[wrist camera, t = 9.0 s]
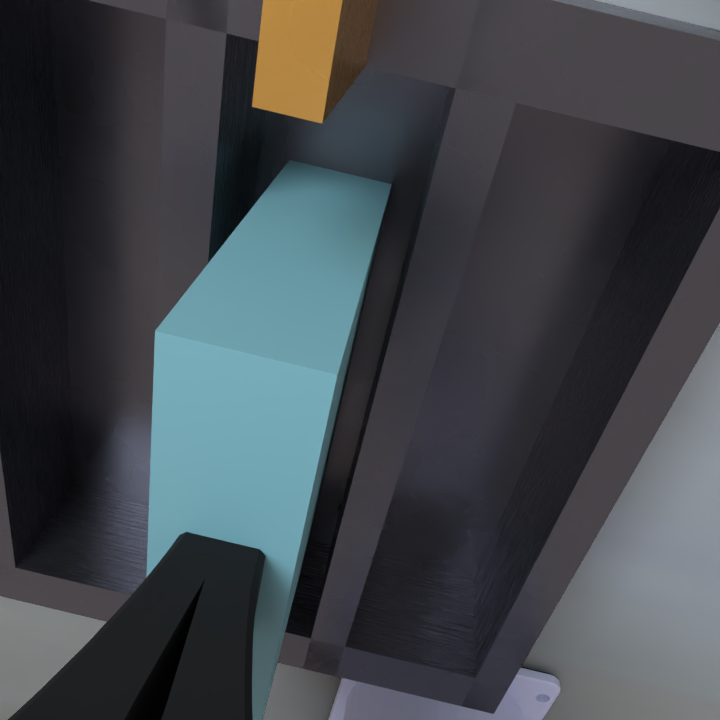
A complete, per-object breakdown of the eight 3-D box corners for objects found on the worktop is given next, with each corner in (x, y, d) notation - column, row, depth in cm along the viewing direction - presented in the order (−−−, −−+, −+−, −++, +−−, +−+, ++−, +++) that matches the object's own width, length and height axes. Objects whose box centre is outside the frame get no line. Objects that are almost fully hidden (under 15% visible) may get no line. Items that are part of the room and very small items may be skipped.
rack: (472, 623, 25) (476, 903, 17) (65, 526, 25) (-97, 766, 17) (805, -76, 13) (1257, -100, 5) (14, -266, 13) (-568, -538, 5)
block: (320, 493, 21) (252, 760, 14) (244, 475, 21) (141, 733, 14) (391, 184, 15) (338, 374, 9) (290, 159, 15) (155, 331, 9)
